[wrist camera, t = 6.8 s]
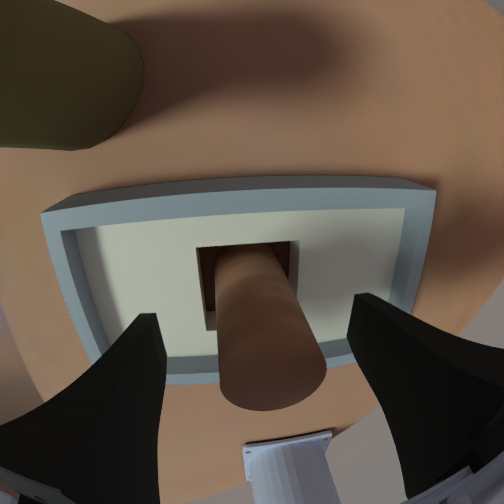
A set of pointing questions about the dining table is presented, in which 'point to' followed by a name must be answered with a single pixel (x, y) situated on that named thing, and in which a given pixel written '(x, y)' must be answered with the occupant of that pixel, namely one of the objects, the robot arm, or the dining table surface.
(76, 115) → the cork
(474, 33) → the dining table surface
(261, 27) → the dining table surface
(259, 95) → the dining table surface
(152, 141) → the dining table surface
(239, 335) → the peg
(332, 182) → the box
